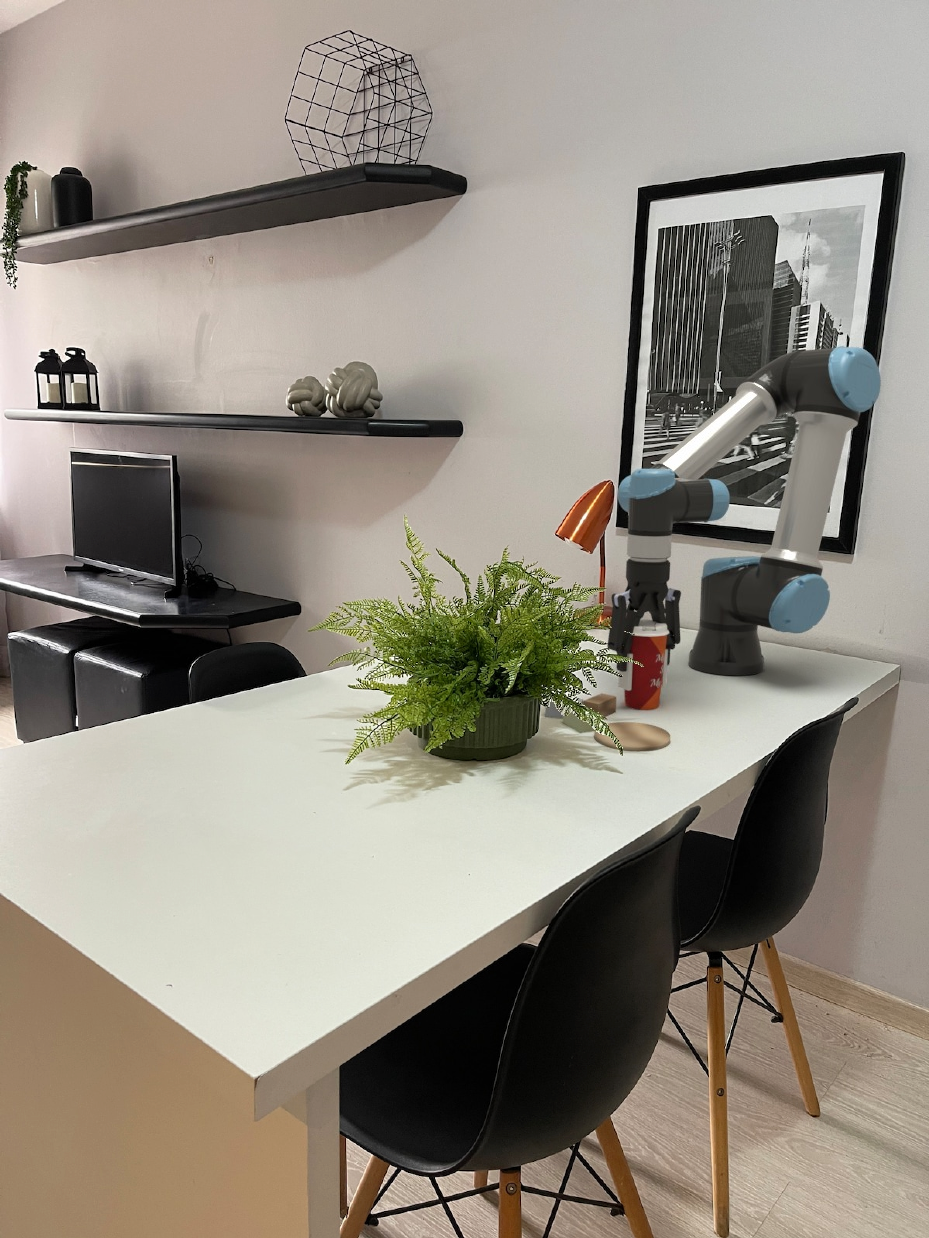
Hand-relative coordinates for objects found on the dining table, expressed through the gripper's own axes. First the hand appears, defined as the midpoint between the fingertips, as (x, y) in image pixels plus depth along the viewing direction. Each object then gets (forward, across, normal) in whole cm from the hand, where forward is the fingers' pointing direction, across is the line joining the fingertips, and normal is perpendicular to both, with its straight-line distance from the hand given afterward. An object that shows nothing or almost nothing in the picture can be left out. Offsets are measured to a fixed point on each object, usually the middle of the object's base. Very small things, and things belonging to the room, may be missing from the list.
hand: (642, 685), depth 169 cm
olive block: (+4, +17, +5) cm, 18 cm away
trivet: (+4, +13, +14) cm, 19 cm away
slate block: (+4, +16, -1) cm, 16 cm away
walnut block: (+4, +10, +1) cm, 11 cm away
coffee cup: (+4, 0, 0) cm, 4 cm away
